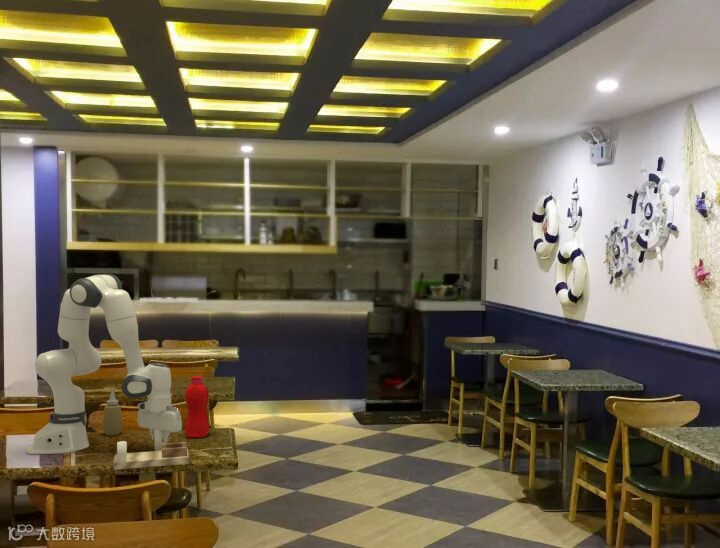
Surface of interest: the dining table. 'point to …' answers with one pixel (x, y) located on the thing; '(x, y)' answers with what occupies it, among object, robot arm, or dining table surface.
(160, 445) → the loose leg
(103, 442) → the dining table surface
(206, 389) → the water bottle
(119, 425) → the squeeze bottle
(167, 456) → the wooden board with socket
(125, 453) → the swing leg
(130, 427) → the dining table surface
